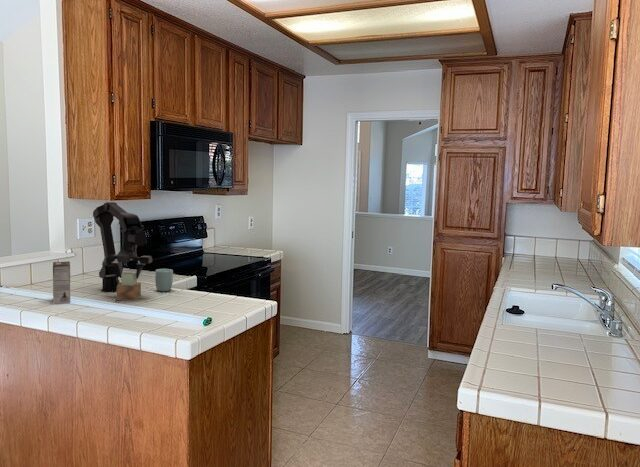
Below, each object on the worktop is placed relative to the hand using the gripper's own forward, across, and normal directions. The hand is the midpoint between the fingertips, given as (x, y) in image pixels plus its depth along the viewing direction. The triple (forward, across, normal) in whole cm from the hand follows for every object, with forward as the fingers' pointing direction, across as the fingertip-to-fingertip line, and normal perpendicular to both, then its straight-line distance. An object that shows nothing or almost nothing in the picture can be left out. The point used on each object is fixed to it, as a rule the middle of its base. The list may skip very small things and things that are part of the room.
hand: (129, 278), depth 215 cm
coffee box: (+9, -24, -11) cm, 28 cm away
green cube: (+3, 0, 0) cm, 3 cm away
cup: (+9, +11, +15) cm, 21 cm away
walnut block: (+9, 0, 0) cm, 9 cm away
